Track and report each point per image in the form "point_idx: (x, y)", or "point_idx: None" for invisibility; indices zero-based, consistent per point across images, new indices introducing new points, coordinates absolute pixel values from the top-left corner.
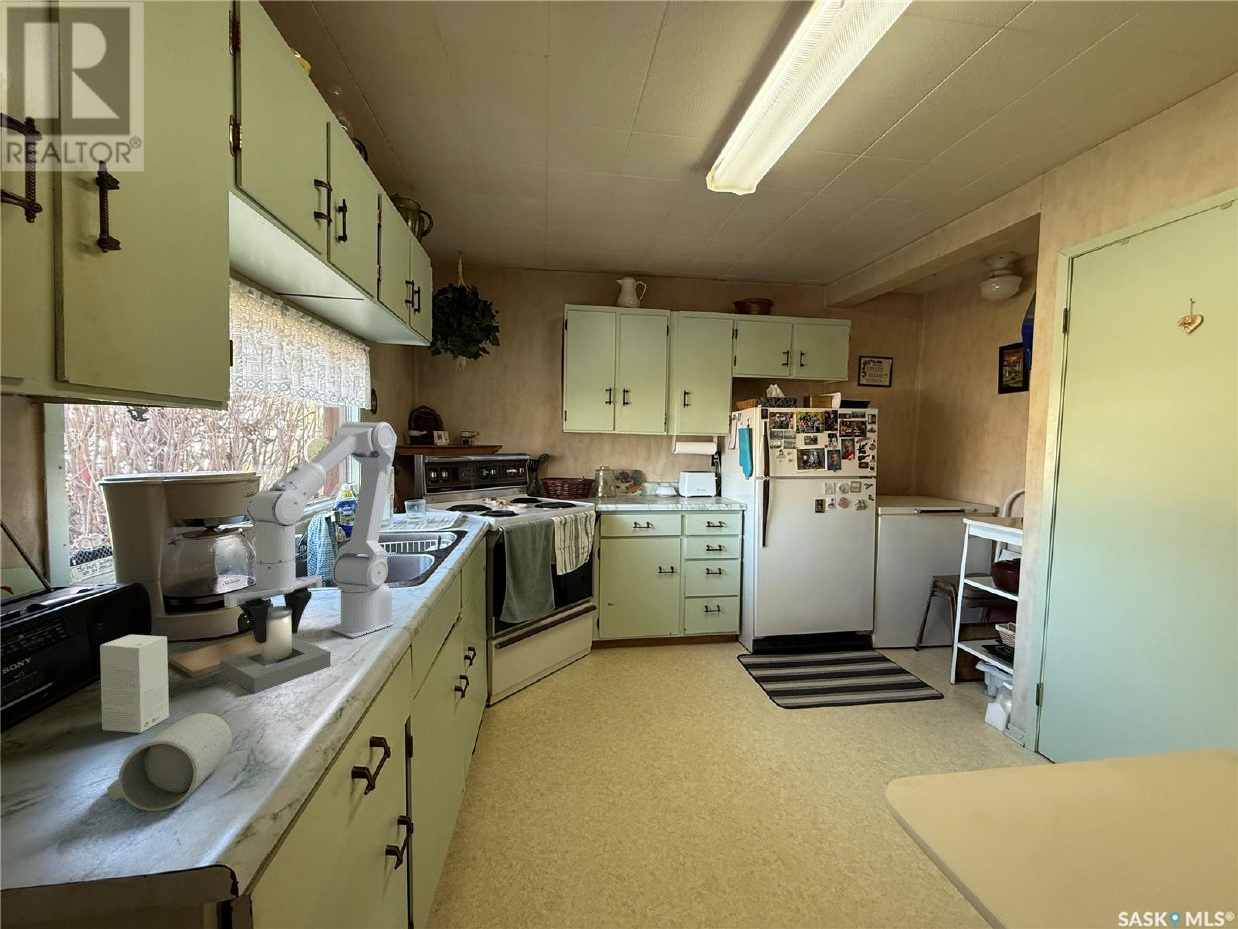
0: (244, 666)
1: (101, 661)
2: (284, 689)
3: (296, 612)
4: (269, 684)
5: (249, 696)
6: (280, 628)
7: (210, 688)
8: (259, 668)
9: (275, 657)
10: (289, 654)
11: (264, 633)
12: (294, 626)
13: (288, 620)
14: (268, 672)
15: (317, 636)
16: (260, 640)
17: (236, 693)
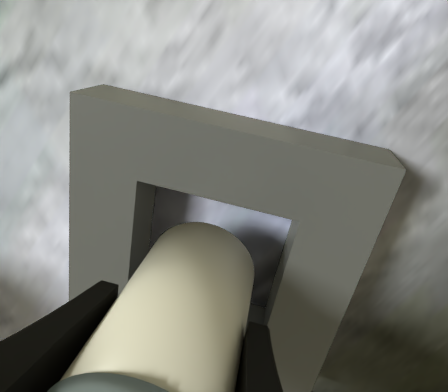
0: (324, 296)
1: None
2: (323, 70)
3: (30, 366)
4: (336, 140)
5: (411, 147)
6: (181, 325)
7: (392, 314)
8: (318, 232)
9: (235, 243)
10: (179, 226)
11: (257, 358)
12: (94, 306)
13: (112, 344)
14: (338, 163)
15: (2, 316)
16: (270, 342)
17: (402, 211)
